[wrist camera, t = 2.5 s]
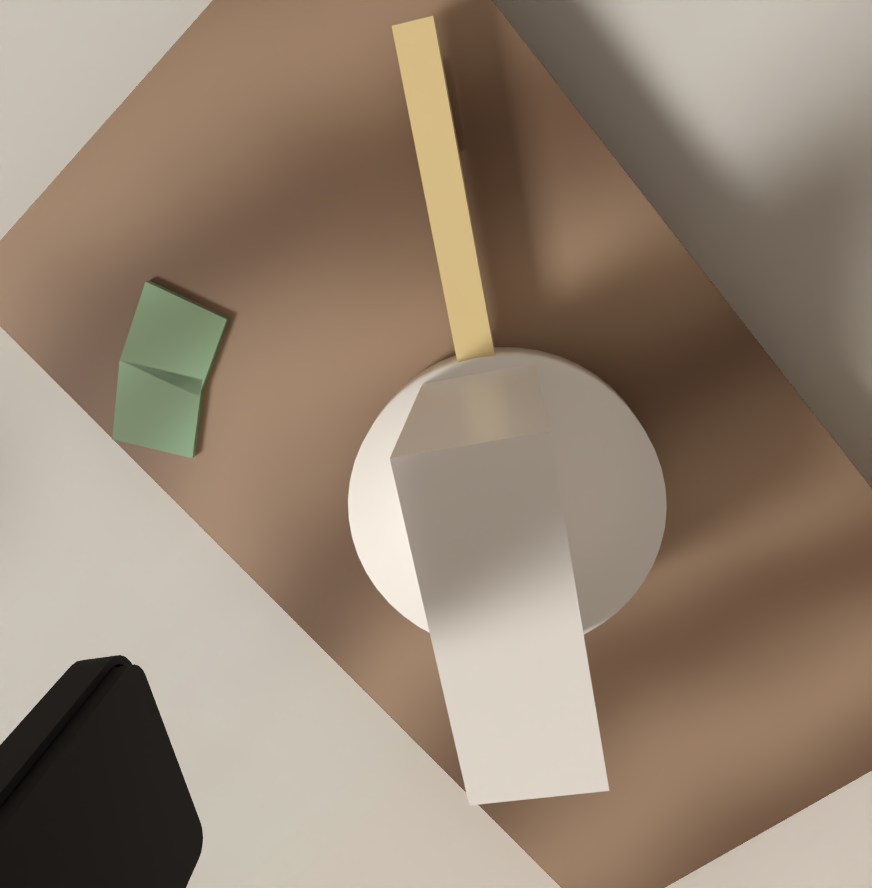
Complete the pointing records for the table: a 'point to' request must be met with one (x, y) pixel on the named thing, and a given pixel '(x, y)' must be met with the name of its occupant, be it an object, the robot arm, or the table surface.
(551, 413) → the knob
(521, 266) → the dial board
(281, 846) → the table surface
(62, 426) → the table surface
